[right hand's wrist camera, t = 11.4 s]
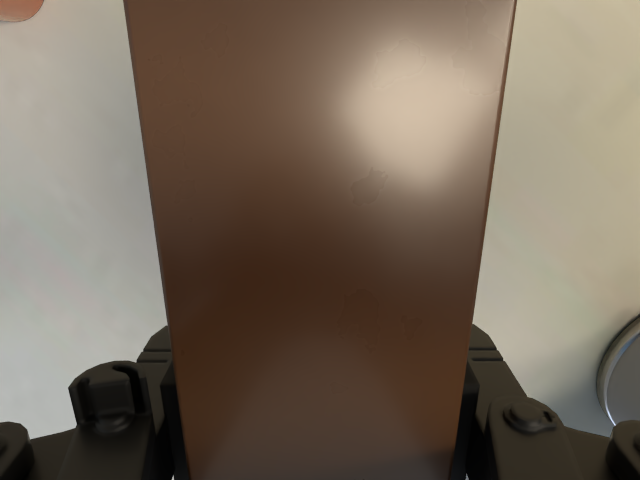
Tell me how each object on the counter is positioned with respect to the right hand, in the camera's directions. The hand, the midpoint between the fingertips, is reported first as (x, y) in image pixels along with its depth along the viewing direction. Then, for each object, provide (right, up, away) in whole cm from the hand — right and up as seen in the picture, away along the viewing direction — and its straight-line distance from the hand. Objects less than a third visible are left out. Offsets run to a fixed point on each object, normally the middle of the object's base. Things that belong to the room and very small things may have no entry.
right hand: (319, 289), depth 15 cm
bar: (0, +9, -3) cm, 10 cm away
